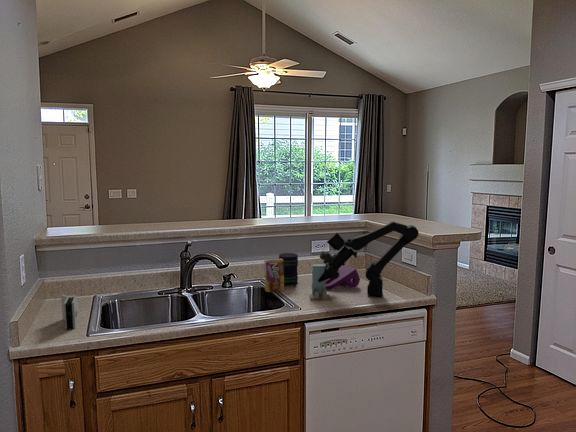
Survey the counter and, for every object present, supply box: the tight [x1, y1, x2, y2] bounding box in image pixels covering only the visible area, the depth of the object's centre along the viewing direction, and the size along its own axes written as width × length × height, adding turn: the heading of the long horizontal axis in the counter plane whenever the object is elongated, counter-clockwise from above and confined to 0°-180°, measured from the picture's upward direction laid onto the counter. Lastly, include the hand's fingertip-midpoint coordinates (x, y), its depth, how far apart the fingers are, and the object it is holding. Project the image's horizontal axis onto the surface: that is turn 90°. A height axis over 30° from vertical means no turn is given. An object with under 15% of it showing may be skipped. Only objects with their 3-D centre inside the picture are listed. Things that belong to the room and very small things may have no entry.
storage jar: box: [278, 252, 299, 287], centre depth 226 cm, size 10×10×15 cm
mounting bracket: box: [326, 264, 361, 290], centre depth 221 cm, size 9×8×18 cm
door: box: [311, 263, 327, 294], centre depth 208 cm, size 6×3×14 cm, turn 92°
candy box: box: [264, 258, 285, 293], centre depth 213 cm, size 9×4×15 cm, turn 104°
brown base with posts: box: [309, 288, 332, 302], centre depth 202 cm, size 9×6×4 cm
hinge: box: [60, 294, 79, 331], centre depth 169 cm, size 14×5×10 cm, turn 31°
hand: (318, 280), depth 208 cm, fingers closed on door, 3 cm apart
